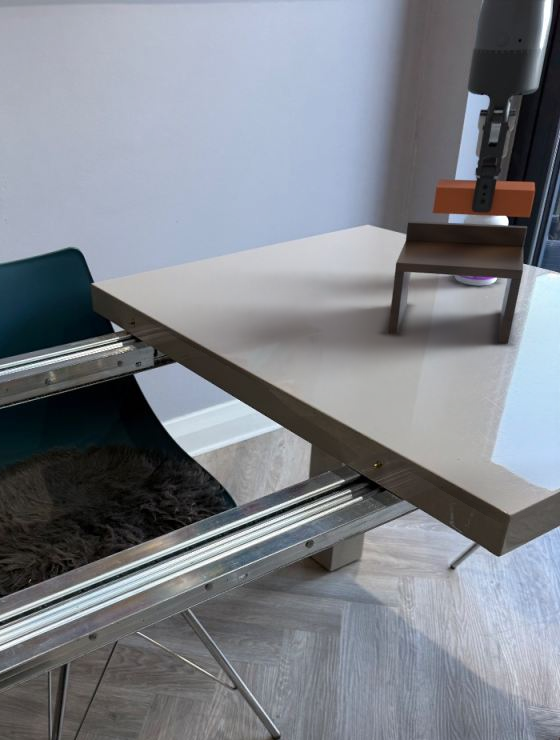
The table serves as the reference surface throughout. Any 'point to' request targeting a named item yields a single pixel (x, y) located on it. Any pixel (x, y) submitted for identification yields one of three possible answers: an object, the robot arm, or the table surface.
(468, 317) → the table surface
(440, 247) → the shelf
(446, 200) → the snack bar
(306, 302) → the table surface
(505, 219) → the supplement bottle
